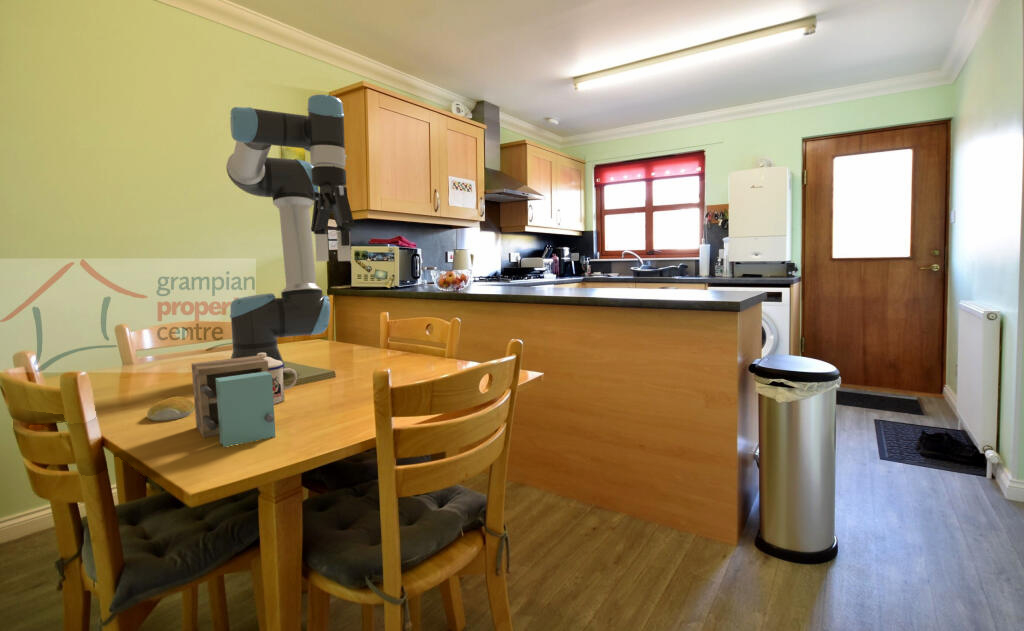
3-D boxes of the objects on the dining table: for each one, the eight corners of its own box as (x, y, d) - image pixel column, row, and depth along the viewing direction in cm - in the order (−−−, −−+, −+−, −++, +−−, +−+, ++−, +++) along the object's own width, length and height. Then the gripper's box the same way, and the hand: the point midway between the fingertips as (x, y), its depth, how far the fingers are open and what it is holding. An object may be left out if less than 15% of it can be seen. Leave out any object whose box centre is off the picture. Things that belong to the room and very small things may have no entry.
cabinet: (196, 427, 103) (191, 363, 102) (261, 415, 111) (257, 355, 109) (210, 446, 92) (205, 375, 91) (281, 432, 100) (277, 365, 98)
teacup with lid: (245, 409, 115) (242, 358, 114) (240, 400, 123) (237, 352, 122) (302, 401, 122) (299, 352, 121) (294, 393, 130) (291, 347, 128)
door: (220, 442, 94) (215, 378, 93) (270, 432, 100) (266, 371, 98) (225, 449, 91) (220, 382, 90) (277, 438, 96) (273, 375, 95)
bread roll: (198, 408, 118) (197, 391, 117) (187, 419, 109) (186, 401, 109) (156, 412, 115) (154, 394, 115) (141, 424, 107) (140, 405, 106)
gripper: (367, 161, 111) (371, 260, 113) (325, 176, 130) (329, 261, 132) (332, 157, 106) (337, 261, 108) (294, 173, 125) (299, 261, 128)
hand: (333, 261), depth 120 cm, fingers open, 13 cm apart
